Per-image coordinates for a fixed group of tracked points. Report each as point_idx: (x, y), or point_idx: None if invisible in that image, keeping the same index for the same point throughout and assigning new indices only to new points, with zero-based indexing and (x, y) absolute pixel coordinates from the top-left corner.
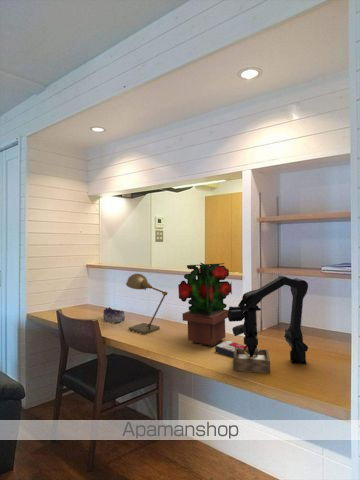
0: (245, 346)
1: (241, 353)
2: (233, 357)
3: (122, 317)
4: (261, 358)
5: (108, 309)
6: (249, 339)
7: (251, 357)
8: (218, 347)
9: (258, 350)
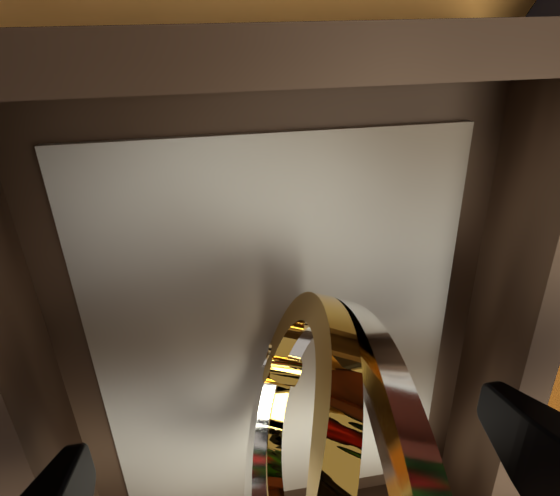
0: (316, 466)
1: (502, 168)
2: (538, 1)
3: None
4: (308, 458)
5: None
6: None
7: (264, 370)
8: None
9: None
